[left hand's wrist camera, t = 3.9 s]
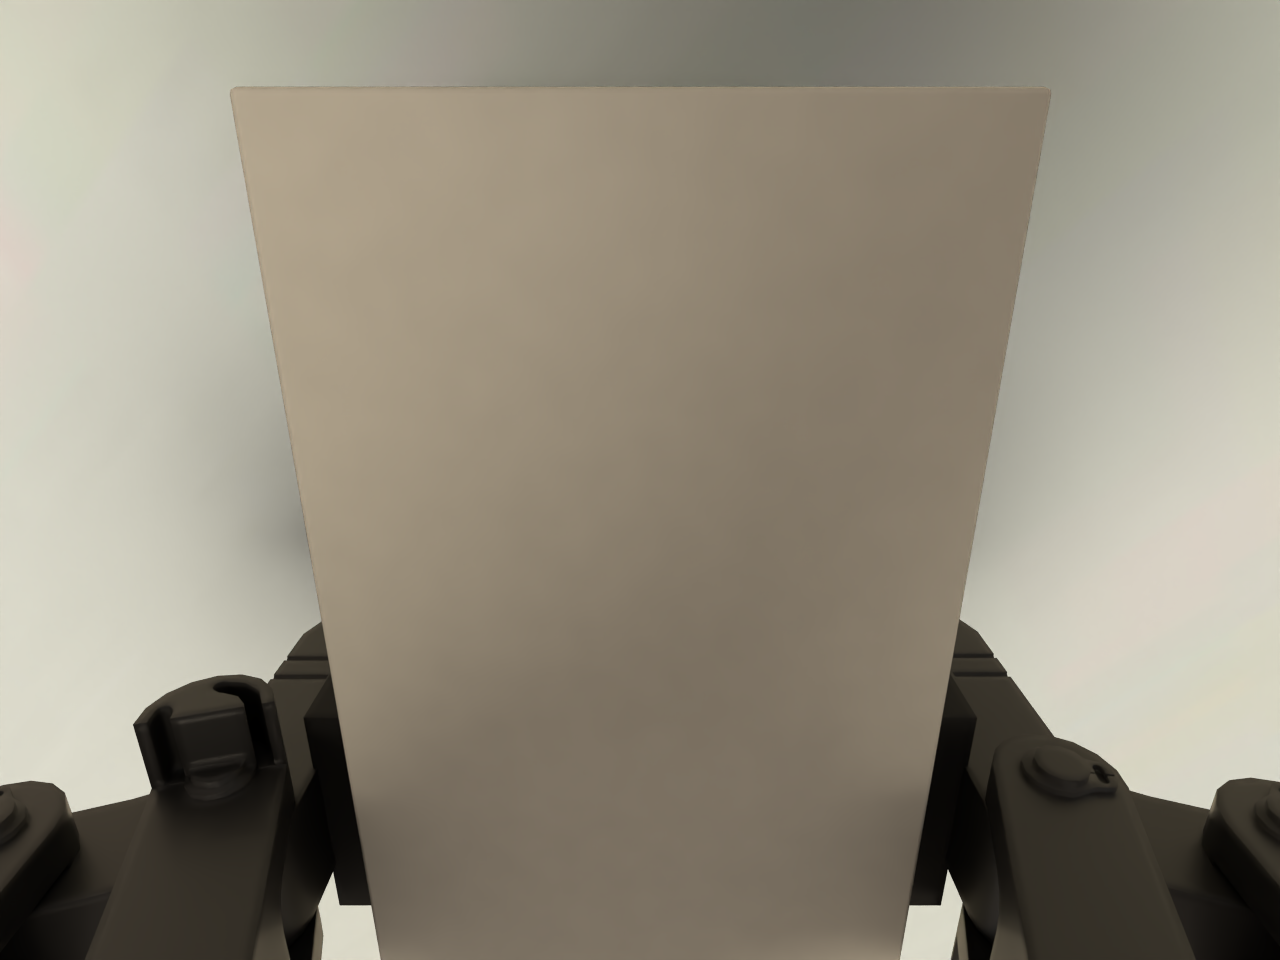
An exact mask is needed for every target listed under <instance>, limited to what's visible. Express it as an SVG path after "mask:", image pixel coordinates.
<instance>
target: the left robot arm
mask: <svg viewBox="0 0 1280 960" xmlns="http://www.w3.org/2000/svg"><path fill="white" fill-rule="evenodd" d="M993 655H994V654H993V652H992V651H991V650H990V648H989V647H988V645H987V644H986V643H985V641H984V640H983V639H982V637H981V636H980V634H979V633H978V632H977V631H976V630H974V629H973V628H971V627H970V626H968V625H967V624H965V623H964V622H963V621H961V620H960V619H959V623H958V629H957V635H956V641H955V646H954V652H953V658H952V663H951V669H950V675H949V681H948V686H947V692H946V698H945V703H944V709H943V715H942V721H941V726H940V732H939V738H938V744H937V749H936V755H935V761H934V766H933V772H932V778H931V784H930V789H929V795H928V801H927V806H926V812H925V818H924V824H923V829H922V835H921V841H920V847H919V852H918V858H917V864H916V869H915V875H914V881H913V887H912V892H911V898H910V904H909V905H941V901H942V896H943V891H944V886H945V881H946V876H947V870H949V872H950V875H951V877H952V879H953V881H954V884H955V886H956V888H957V890H958V893H959V895H960V897H961V900H962V902H963V904H962V909H961V913H960V918H959V923H958V928H957V932H956V937H955V942H954V947H953V952H952V956H951V960H1280V782H1276V781H1269V780H1262V779H1256V778H1244V779H1236V780H1229V781H1228V782H1226V783H1225V784H1224V785H1222V786H1221V787H1220V788H1219V789H1217V791H1216V794H1215V797H1214V800H1213V803H1212V806H1211V809H1210V810H1208V809H1204V808H1199V807H1195V806H1190V805H1186V804H1181V803H1177V802H1172V801H1168V800H1163V799H1159V798H1154V797H1150V796H1146V795H1143V794H1139V793H1136V792H1133V791H1129V788H1128V786H1127V785H1126V783H1125V782H1124V780H1123V779H1122V777H1121V776H1120V774H1119V773H1118V771H1117V770H1116V769H1115V768H1113V767H1112V766H1111V765H1110V764H1108V763H1107V762H1106V761H1105V760H1103V759H1102V758H1101V757H1100V756H1099V755H1097V754H1095V753H1093V752H1091V751H1089V750H1087V749H1085V748H1083V747H1081V746H1079V745H1077V744H1076V743H1074V742H1070V741H1067V740H1063V739H1060V738H1056V737H1054V736H1053V734H1052V733H1051V732H1050V730H1049V729H1048V727H1047V726H1046V725H1045V723H1044V722H1043V721H1042V719H1041V718H1040V717H1039V715H1038V714H1037V712H1036V711H1035V710H1034V708H1033V707H1032V706H1031V704H1030V703H1029V702H1028V700H1027V699H1026V697H1025V696H1024V695H1023V693H1022V692H1021V691H1020V689H1019V688H1018V686H1017V685H1016V684H1015V682H1014V681H1013V680H1012V678H1011V677H1007V671H1006V670H1005V669H1004V667H1003V666H1002V665H1001V663H1000V662H999V660H998V659H997V658H994V656H993ZM287 657H288V658H287V661H284V662H283V663H282V664H281V666H280V667H279V669H278V670H277V671H276V673H275V674H274V679H271V680H270V681H269V682H268V684H267V683H266V682H264V681H263V680H262V679H260V678H255V677H251V676H246V675H225V676H215V677H211V678H207V679H203V680H199V681H195V682H192V683H189V684H187V685H185V686H183V687H180V688H178V689H176V690H174V691H171V692H169V693H167V694H165V695H164V696H162V697H161V698H160V699H158V700H157V701H155V702H154V703H153V704H151V705H150V706H148V707H147V708H146V709H145V710H144V711H143V712H142V714H141V715H140V716H139V718H138V719H137V720H136V721H135V723H134V724H133V726H134V730H135V733H136V736H137V740H138V743H139V747H140V750H141V753H142V757H143V760H144V764H145V767H146V770H147V774H148V777H149V781H150V784H151V787H152V789H151V792H150V794H149V795H145V796H142V797H138V798H135V799H131V800H127V801H122V802H118V803H113V804H109V805H105V806H100V807H96V808H91V809H87V810H82V811H78V812H73V813H72V812H71V809H70V807H69V804H68V801H67V798H66V795H65V793H64V792H63V791H62V790H60V789H59V788H58V787H56V786H55V785H54V784H53V783H45V782H36V781H27V782H20V783H14V784H7V785H2V786H0V960H321V956H322V945H323V930H322V924H321V918H320V913H319V909H318V905H319V902H320V900H321V898H322V895H323V893H324V891H325V889H326V886H327V884H328V882H329V879H330V877H331V875H332V873H334V878H335V883H336V888H337V894H338V899H339V904H340V905H371V900H370V894H369V889H368V883H367V877H366V872H365V866H364V860H363V854H362V849H361V843H360V837H359V831H358V826H357V820H356V814H355V808H354V803H353V797H352V791H351V785H350V780H349V774H348V768H347V763H346V757H345V751H344V745H343V740H342V734H341V728H340V722H339V717H338V711H337V705H336V699H335V694H334V688H333V682H332V677H331V671H330V665H329V659H328V654H327V648H326V642H325V636H324V631H323V625H322V622H320V623H319V624H317V625H316V626H315V627H313V628H312V629H310V630H309V631H307V632H306V633H304V634H303V636H302V637H301V638H300V640H299V641H298V642H297V644H296V645H295V647H294V648H293V649H292V651H291V652H290V653H289V655H288V656H287Z"/></svg>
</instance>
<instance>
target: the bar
mask: <svg viewBox="0 0 1280 960" xmlns="http://www.w3.org/2000/svg"><path fill="white" fill-rule="evenodd" d="M230 97H231V103H232V109H233V114H234V120H235V126H236V132H237V137H238V143H239V149H240V155H241V160H242V166H243V172H244V177H245V183H246V189H247V195H248V200H249V206H250V212H251V218H252V223H253V229H254V235H255V241H256V246H257V252H258V258H259V264H260V269H261V275H262V281H263V286H264V292H265V298H266V304H267V309H268V315H269V321H270V327H271V332H272V338H273V344H274V350H275V355H276V361H277V367H278V373H279V378H280V384H281V390H282V395H283V401H284V407H285V413H286V418H287V424H288V430H289V436H290V441H291V447H292V453H293V459H294V464H295V470H296V476H297V481H298V487H299V493H300V499H301V504H302V510H303V516H304V522H305V527H306V533H307V539H308V545H309V550H310V556H311V562H312V568H313V573H314V579H315V585H316V590H317V596H318V602H319V608H320V613H321V619H322V625H323V631H324V636H325V642H326V648H327V654H328V659H329V665H330V671H331V677H332V682H333V688H334V694H335V699H336V705H337V711H338V717H339V722H340V728H341V734H342V740H343V745H344V751H345V757H346V763H347V768H348V774H349V780H350V785H351V791H352V797H353V803H354V808H355V814H356V820H357V826H358V831H359V837H360V843H361V849H362V854H363V860H364V866H365V872H366V877H367V883H368V889H369V894H370V900H371V906H372V912H373V917H374V923H375V929H376V935H377V940H378V946H379V952H380V958H381V960H900V955H901V950H902V944H903V938H904V932H905V927H906V921H907V915H908V910H909V904H910V898H911V892H912V887H913V881H914V875H915V869H916V864H917V858H918V852H919V847H920V841H921V835H922V829H923V824H924V818H925V812H926V806H927V801H928V795H929V789H930V784H931V778H932V772H933V766H934V761H935V755H936V749H937V744H938V738H939V732H940V726H941V721H942V715H943V709H944V703H945V698H946V692H947V686H948V681H949V675H950V669H951V663H952V658H953V652H954V646H955V641H956V635H957V629H958V623H959V618H960V612H961V606H962V600H963V595H964V589H965V583H966V578H967V572H968V566H969V560H970V555H971V549H972V543H973V538H974V532H975V526H976V520H977V515H978V509H979V503H980V497H981V492H982V486H983V480H984V475H985V469H986V463H987V457H988V452H989V446H990V440H991V435H992V429H993V423H994V417H995V412H996V406H997V400H998V394H999V389H1000V383H1001V377H1002V372H1003V366H1004V360H1005V354H1006V349H1007V343H1008V337H1009V331H1010V326H1011V320H1012V314H1013V309H1014V303H1015V297H1016V291H1017V286H1018V280H1019V274H1020V269H1021V263H1022V257H1023V251H1024V246H1025V240H1026V234H1027V228H1028V223H1029V217H1030V211H1031V206H1032V200H1033V194H1034V188H1035V183H1036V177H1037V171H1038V166H1039V160H1040V154H1041V148H1042V143H1043V137H1044V131H1045V125H1046V120H1047V114H1048V108H1049V103H1050V97H1051V91H1050V89H1048V88H1046V87H235V88H233V89H231V91H230Z"/></svg>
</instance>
